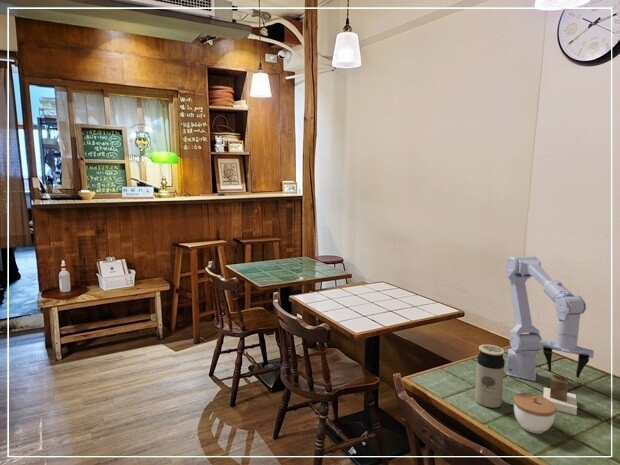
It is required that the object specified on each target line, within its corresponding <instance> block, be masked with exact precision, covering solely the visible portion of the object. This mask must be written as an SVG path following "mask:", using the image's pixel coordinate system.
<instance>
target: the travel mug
mask: <svg viewBox="0 0 620 465" xmlns="http://www.w3.org/2000/svg"><path fill="white" fill-rule="evenodd" d="M478 350H479V353H478V355H477V359H476V360H477V361H476V376H475V388H474V389H475V390H474V400H475V402H477V403H478V404H479V405H481V406H484V407H487V408H491V409H492V408H499V407H500V406H502V402H503V400H502V399H503V388H504V377H505V376H504V373H505V365H506V364H505V363H506V361H505V358H504V354H505V350H504V349H503V348H502V347H501V346H497V345H493V344H481V345H479V347H478Z"/></svg>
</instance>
